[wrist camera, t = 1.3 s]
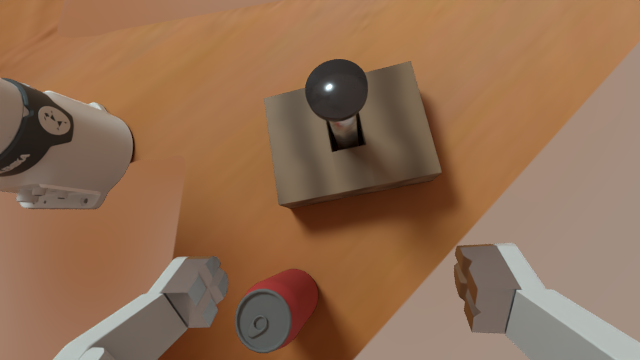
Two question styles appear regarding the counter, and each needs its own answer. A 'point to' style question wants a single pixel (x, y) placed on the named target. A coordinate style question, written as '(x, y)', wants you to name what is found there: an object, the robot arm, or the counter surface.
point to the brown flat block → (358, 162)
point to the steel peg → (338, 98)
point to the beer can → (275, 310)
